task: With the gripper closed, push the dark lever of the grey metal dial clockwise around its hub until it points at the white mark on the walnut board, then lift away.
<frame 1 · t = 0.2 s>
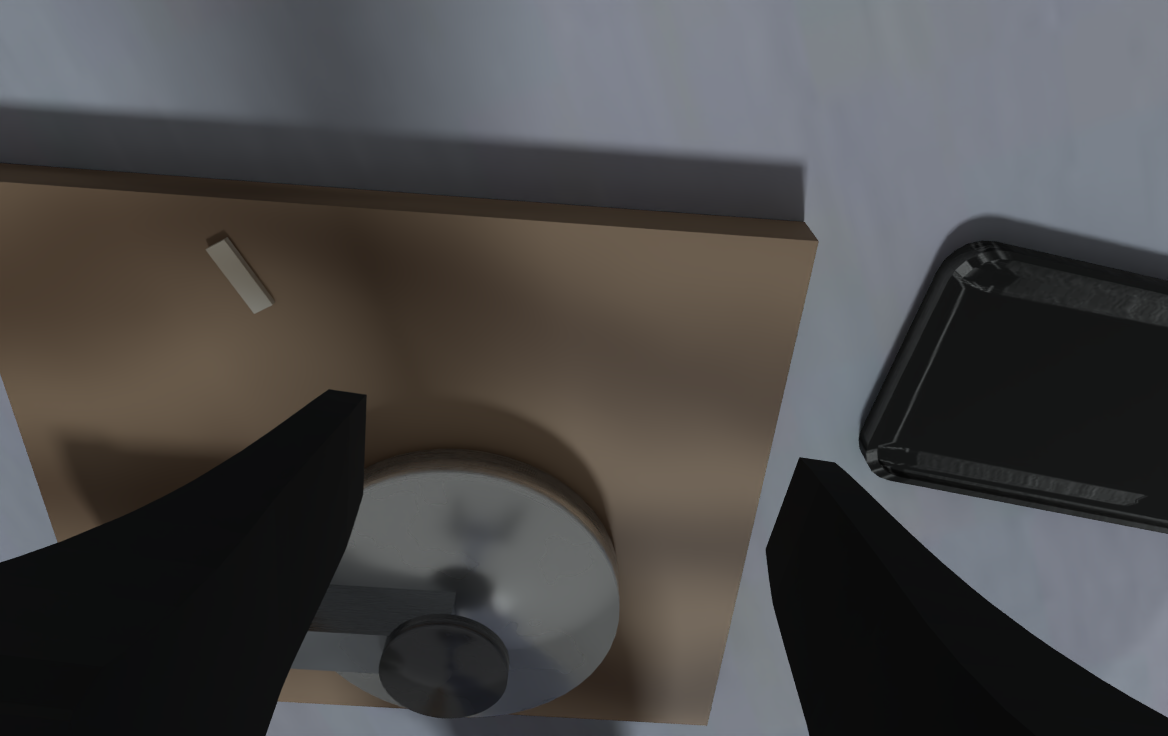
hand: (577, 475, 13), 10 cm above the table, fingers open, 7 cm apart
dial board: (409, 477, 25), on the table
phone: (1115, 395, 24), on the table
dial: (354, 616, 23), point 4 cm above the table, hinge at 0.0°
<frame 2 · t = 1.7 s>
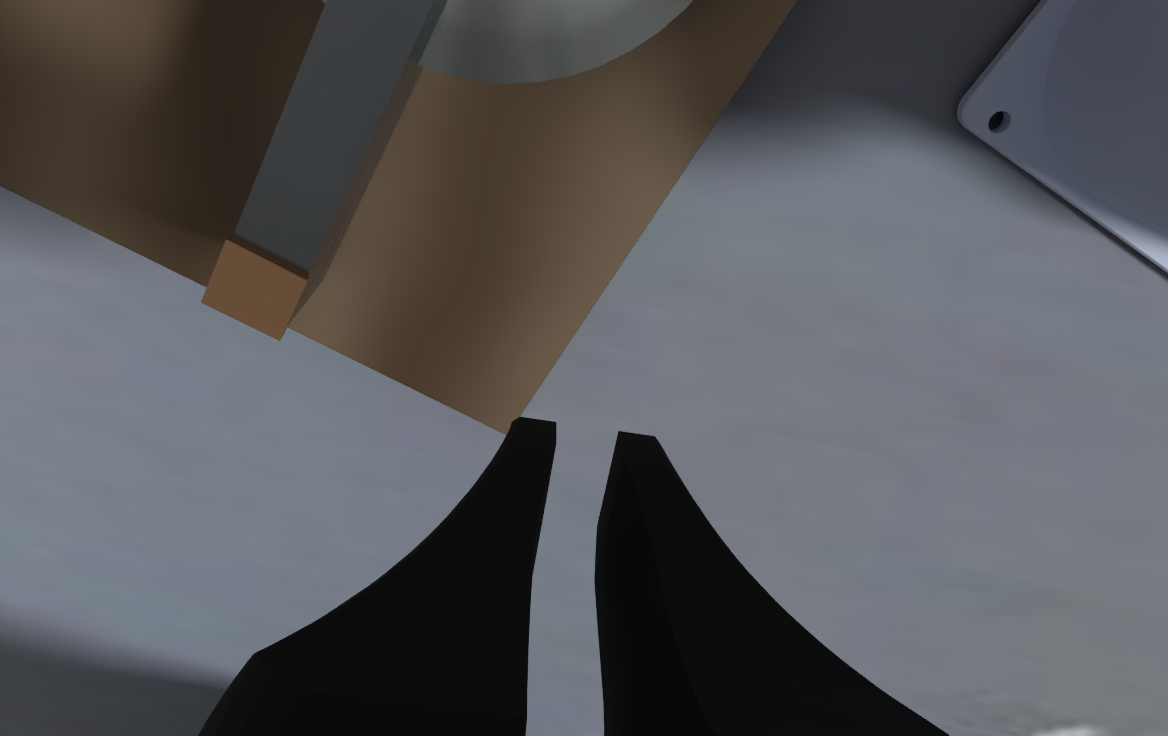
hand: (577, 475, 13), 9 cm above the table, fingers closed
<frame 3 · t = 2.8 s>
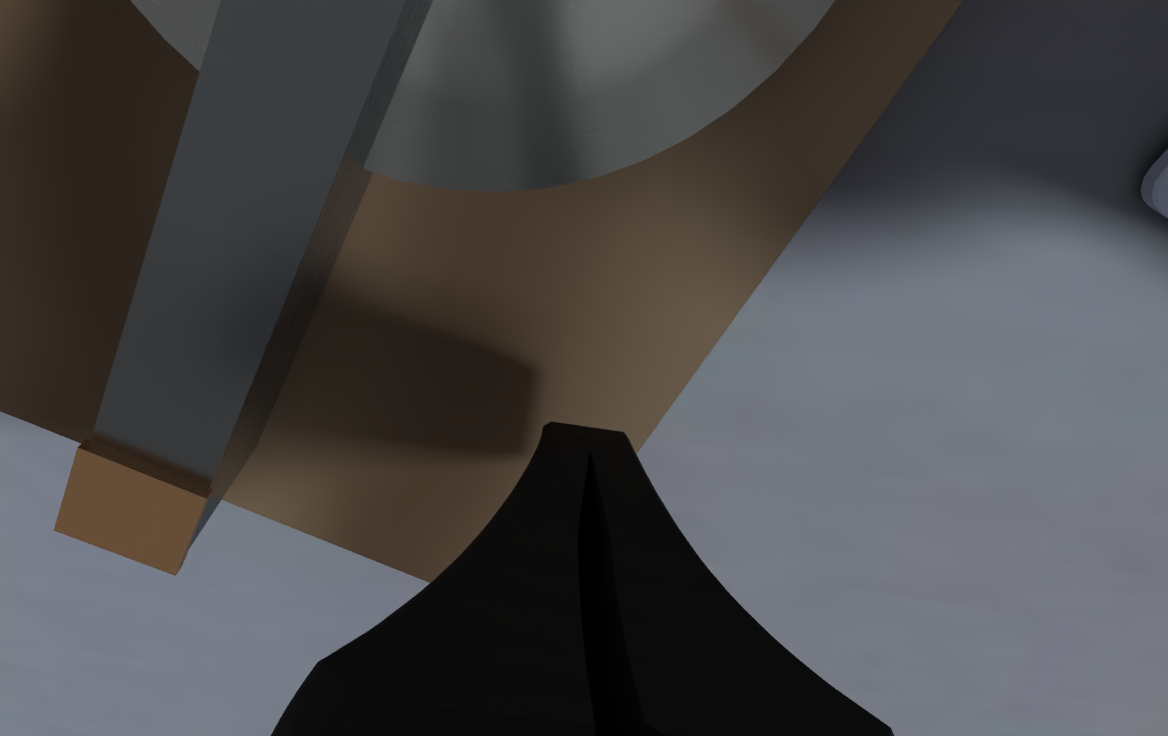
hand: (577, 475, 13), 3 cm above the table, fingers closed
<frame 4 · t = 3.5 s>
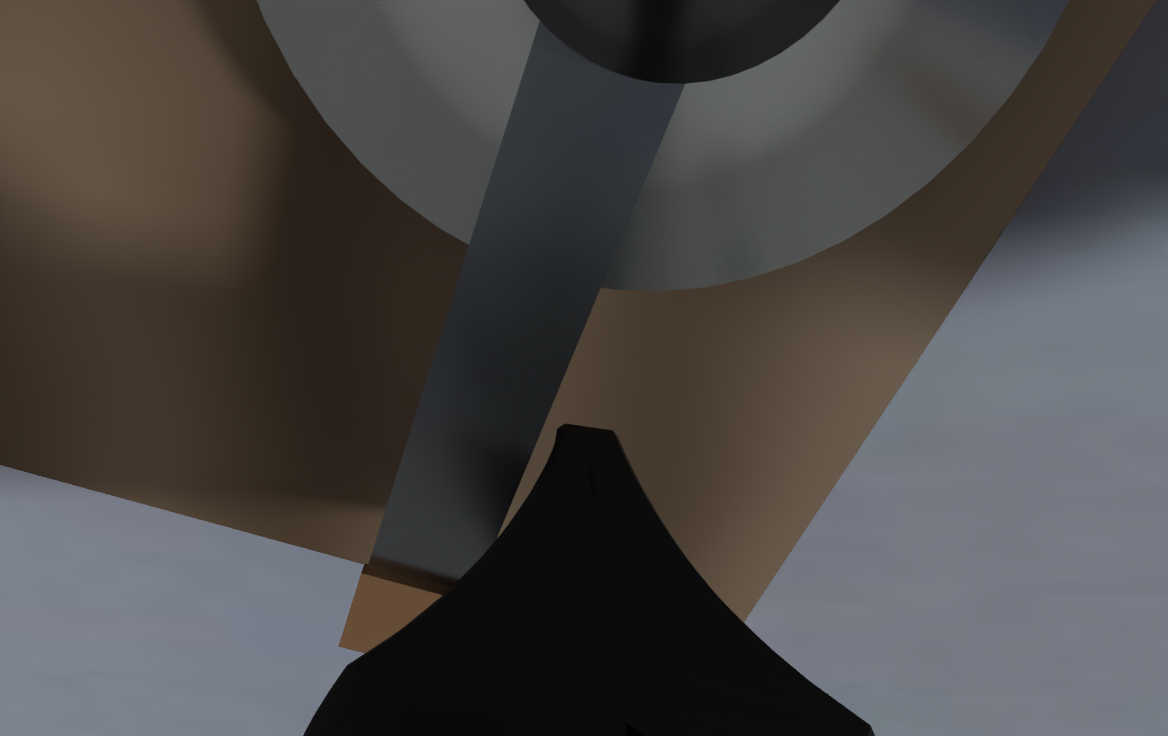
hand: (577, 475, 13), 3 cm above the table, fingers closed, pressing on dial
dial: (573, 143, 10), point 4 cm above the table, hinge at 0.0°, touching gripper
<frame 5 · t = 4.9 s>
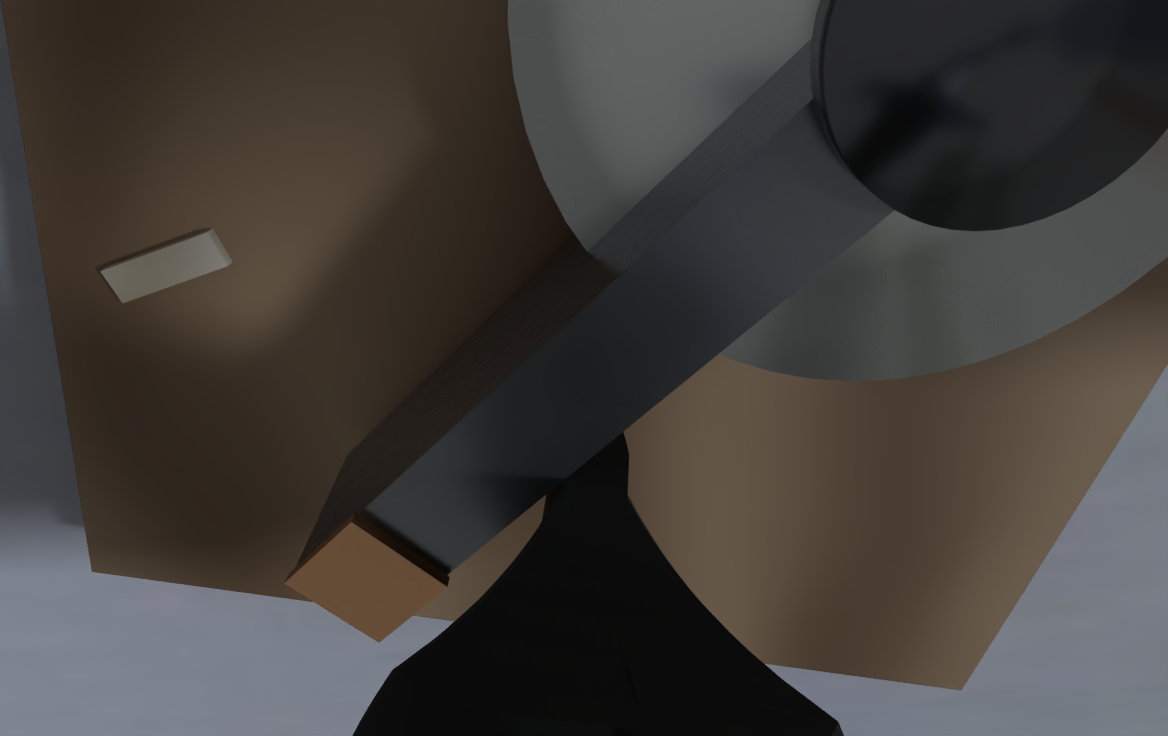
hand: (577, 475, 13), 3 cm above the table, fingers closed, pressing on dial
dial board: (660, 100, 13), on the table
dial: (737, 204, 10), point 4 cm above the table, hinge at -34.2°, touching gripper
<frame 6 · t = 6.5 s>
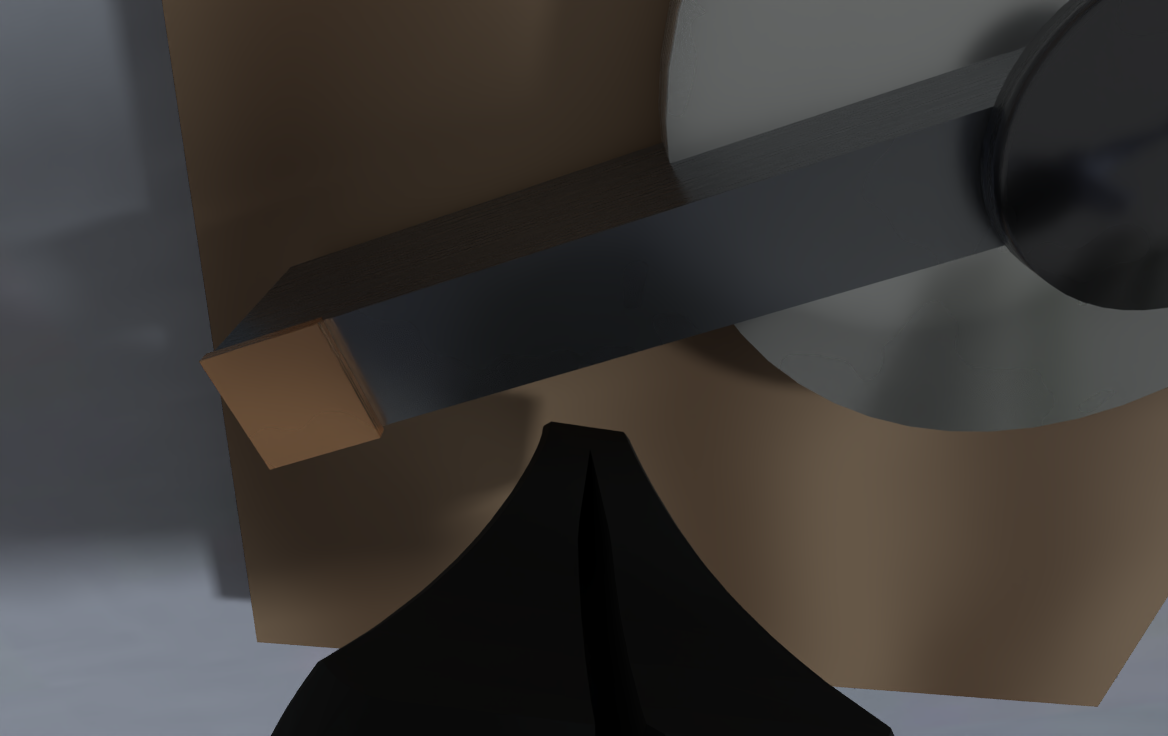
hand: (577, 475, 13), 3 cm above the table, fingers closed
dial board: (781, 169, 13), on the table
dial: (837, 184, 10), point 4 cm above the table, hinge at -65.6°
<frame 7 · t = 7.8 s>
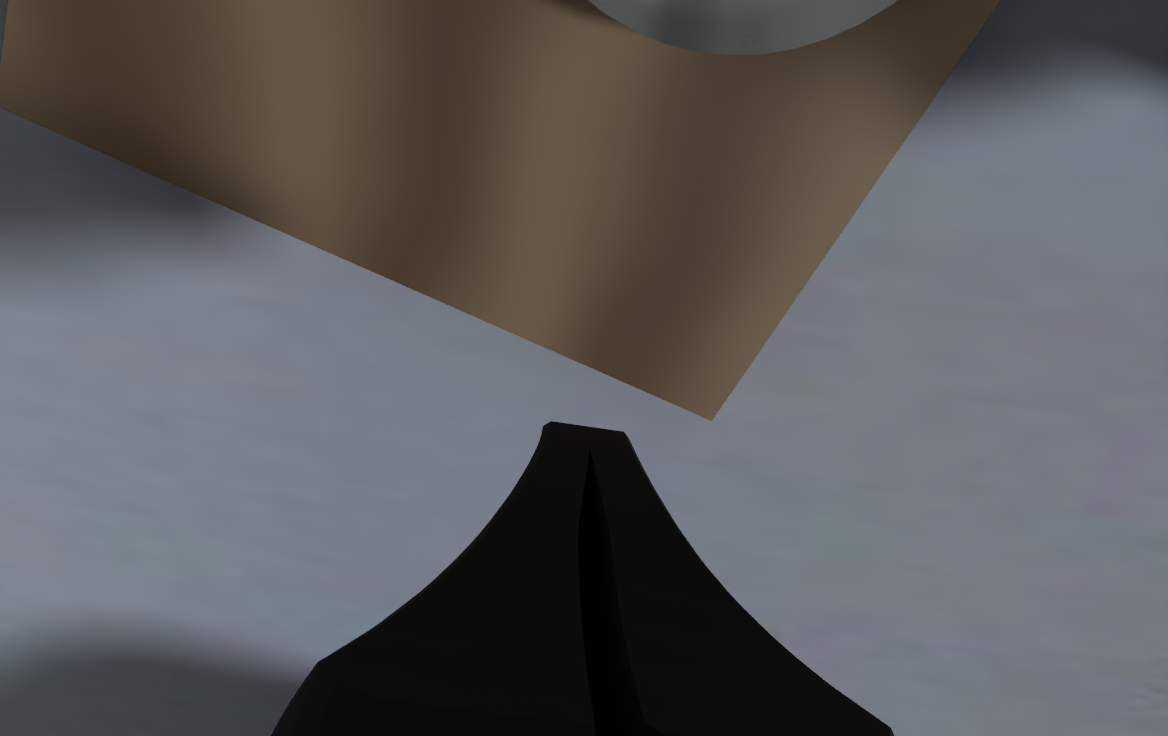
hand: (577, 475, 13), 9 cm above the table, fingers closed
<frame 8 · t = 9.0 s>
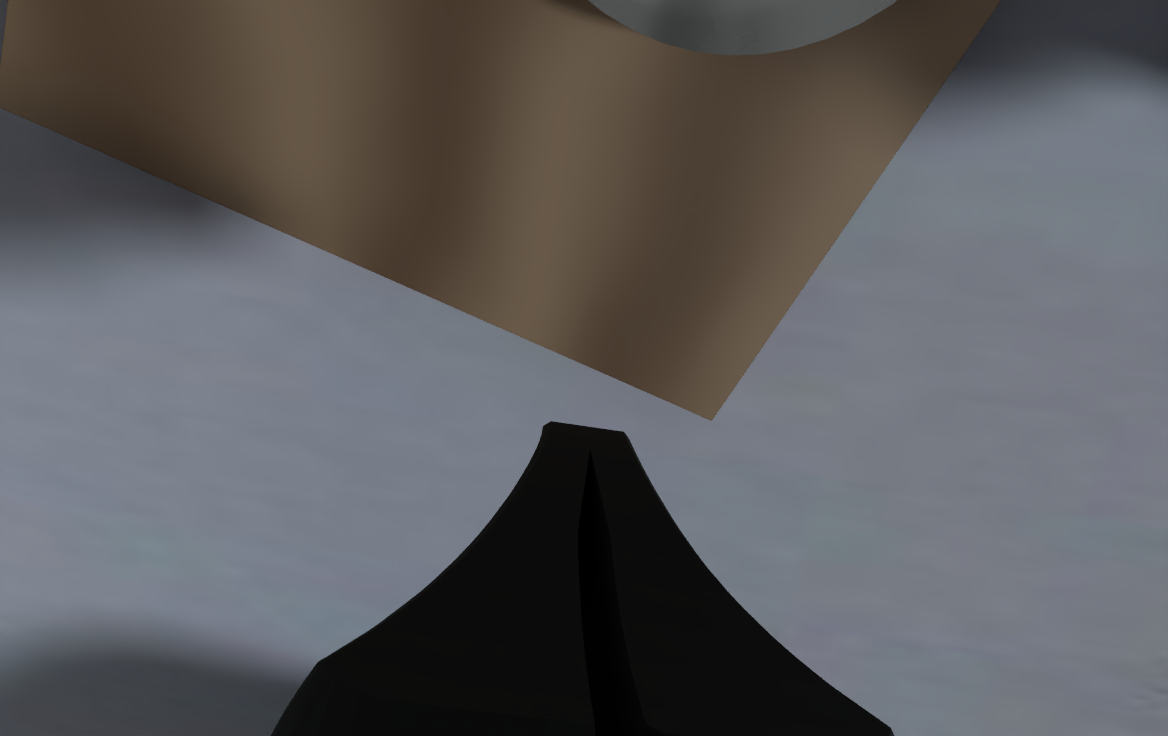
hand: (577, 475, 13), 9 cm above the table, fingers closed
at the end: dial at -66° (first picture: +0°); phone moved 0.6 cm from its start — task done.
